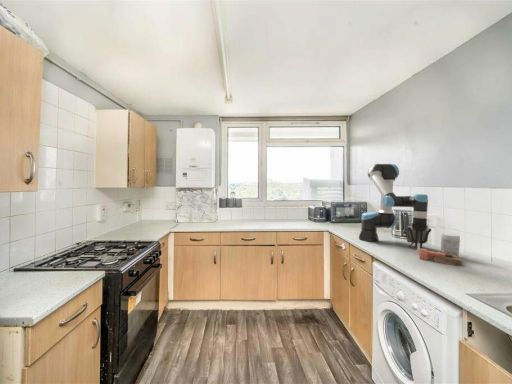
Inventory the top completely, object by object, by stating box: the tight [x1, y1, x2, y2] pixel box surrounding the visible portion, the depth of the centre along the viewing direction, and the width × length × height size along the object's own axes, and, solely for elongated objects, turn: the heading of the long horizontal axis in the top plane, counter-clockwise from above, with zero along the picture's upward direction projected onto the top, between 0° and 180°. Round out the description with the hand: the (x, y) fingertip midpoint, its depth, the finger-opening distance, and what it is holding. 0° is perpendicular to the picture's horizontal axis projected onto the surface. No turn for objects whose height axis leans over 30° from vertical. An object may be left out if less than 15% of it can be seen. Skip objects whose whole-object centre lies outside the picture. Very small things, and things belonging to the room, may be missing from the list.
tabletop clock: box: [406, 222, 429, 248], centre depth 172 cm, size 14×9×25 cm, turn 124°
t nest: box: [432, 251, 463, 267], centre depth 144 cm, size 14×13×3 cm
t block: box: [418, 247, 445, 261], centre depth 148 cm, size 13×13×4 cm
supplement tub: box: [440, 232, 461, 257], centre depth 154 cm, size 10×10×15 cm
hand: (418, 252), depth 152 cm, fingers closed
